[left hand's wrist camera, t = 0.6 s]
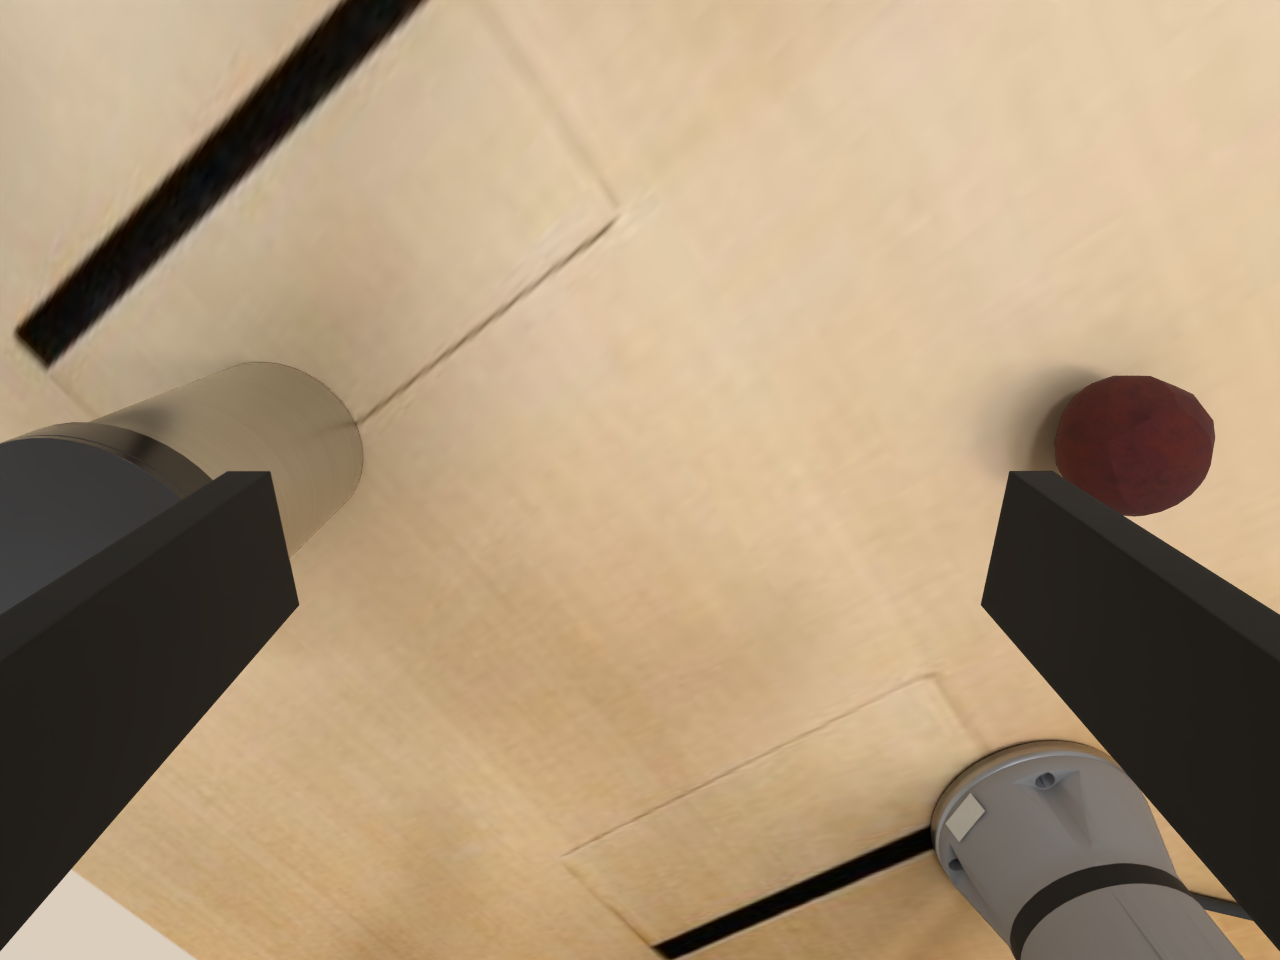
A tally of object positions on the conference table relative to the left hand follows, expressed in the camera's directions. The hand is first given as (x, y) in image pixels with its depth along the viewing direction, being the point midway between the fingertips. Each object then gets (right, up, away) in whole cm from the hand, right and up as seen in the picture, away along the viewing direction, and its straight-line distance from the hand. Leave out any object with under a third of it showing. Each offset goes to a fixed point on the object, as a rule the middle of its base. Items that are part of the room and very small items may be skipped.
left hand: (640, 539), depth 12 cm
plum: (+27, +4, +28) cm, 39 cm away
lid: (-22, -2, +15) cm, 27 cm away
